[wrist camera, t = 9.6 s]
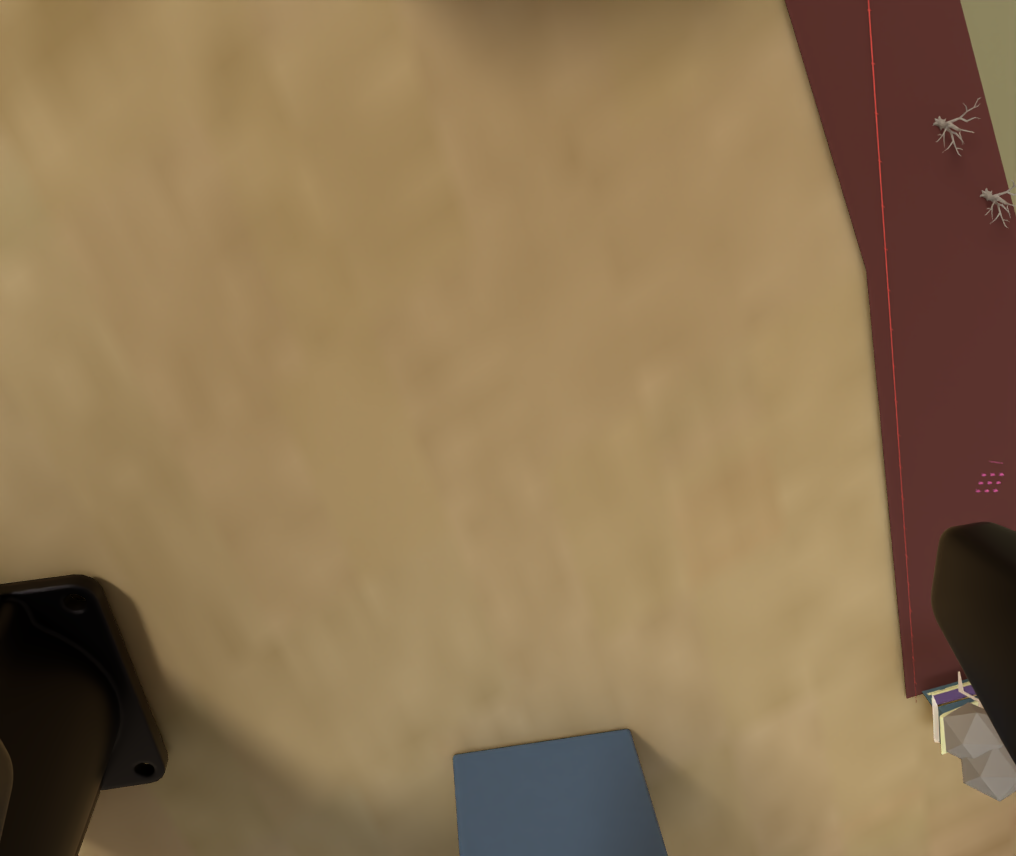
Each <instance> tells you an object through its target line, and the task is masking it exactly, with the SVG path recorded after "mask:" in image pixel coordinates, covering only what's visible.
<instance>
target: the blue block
mask: <svg viewBox="0 0 1016 856" xmlns="http://www.w3.org/2000/svg"><path fill="white" fill-rule="evenodd" d="M453 768H454V782H455V797H456V811H457V825H458V840H459V854H460V856H668V854H667V851H666V847H665V844H664V841H663V837H662V834H661V831H660V827H659V824H658V821H657V818H656V814H655V811H654V808H653V804H652V801H651V798H650V794H649V791H648V788H647V784H646V781H645V778H644V774H643V771H642V768H641V764H640V761H639V758H638V754H637V751H636V748H635V744H634V741H633V738H632V735H631V732H630V730H629V729H623V730H616V731H610V732H603V733H596V734H589V735H583V736H576V737H569V738H563V739H556V740H549V741H543V742H536V743H529V744H523V745H516V746H509V747H502V748H496V749H489V750H482V751H476V752H469V753H462V754H456V755H454V757H453Z"/></svg>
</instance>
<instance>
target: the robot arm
mask: <svg viewBox="0 0 1016 856" xmlns="http://www.w3.org/2000/svg"><path fill="white" fill-rule="evenodd" d="M70 594H76V595H79V596H81V597H83V598H84V599H85V601H81V600H76V599H74V598H72V597H71V595H70ZM931 605H932V609H933V613H934V616H935V619H936V621H937V623H938V625H939V627H940V629H941V630H942V632H943V634H944V636H945V638H946V640H947V641H948V643H949V645H950V647H951V649H952V651H953V653H954V654H955V656H956V658H957V660H958V662H959V664H960V665H961V667H962V669H963V671H964V673H965V675H966V677H967V678H968V680H969V682H970V684H971V686H972V688H973V689H974V691H975V693H976V695H977V697H978V699H979V701H980V702H981V704H982V706H983V708H984V710H985V712H986V713H987V715H988V717H989V719H990V721H991V723H992V725H993V726H994V728H995V730H996V732H997V734H998V736H999V737H1000V739H1001V741H1002V743H1003V744H1004V746H1005V748H1006V749H1007V751H1008V753H1009V755H1010V756H1011V758H1012V760H1013V762H1014V763H1015V765H1016V531H1013V530H1011V529H1008V528H1006V527H1003V526H1001V525H998V524H995V523H992V522H977V523H971V524H965V525H959V526H953V527H950V528H948V529H946V530H945V531H944V532H943V533H942V535H941V537H940V540H939V544H938V550H937V557H936V564H935V570H934V577H933V584H932V590H931ZM144 763H148V764H144ZM167 763H168V754H167V751H166V749H165V746H164V744H163V741H162V739H161V736H160V733H159V731H158V728H157V726H156V723H155V721H154V718H153V716H152V713H151V711H150V708H149V705H148V703H147V700H146V698H145V695H144V693H143V690H142V688H141V685H140V683H139V680H138V677H137V675H136V672H135V670H134V667H133V665H132V662H131V660H130V657H129V655H128V652H127V650H126V647H125V644H124V642H123V639H122V637H121V634H120V632H119V629H118V627H117V624H116V622H115V619H114V616H113V614H112V611H111V609H110V606H109V604H108V601H107V599H106V596H105V594H104V591H103V589H102V587H101V586H100V584H99V583H98V582H97V581H95V580H94V579H93V578H91V577H88V576H85V575H67V576H59V577H52V578H44V579H37V580H29V581H22V582H15V583H7V584H0V856H78V853H79V850H80V848H81V845H82V842H83V839H84V836H85V833H86V831H87V828H88V825H89V822H90V819H91V817H92V814H93V811H94V808H95V805H96V802H97V800H98V797H99V794H100V791H101V790H107V789H113V788H120V787H127V786H134V785H140V784H147V783H152V782H155V781H158V780H159V779H160V778H162V777H163V775H164V773H165V770H166V766H167Z"/></svg>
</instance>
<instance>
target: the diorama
mask: <svg viewBox="0 0 1016 856" xmlns="http://www.w3.org/2000/svg"><path fill="white" fill-rule="evenodd" d="M785 2H786V6H787V9H788V12H789V16H790V19H791V22H792V25H793V29H794V32H795V35H796V39H797V42H798V45H799V49H800V52H801V55H802V59H803V62H804V65H805V69H806V72H807V75H808V79H809V82H810V85H811V88H812V92H813V95H814V98H815V102H816V105H817V108H818V112H819V115H820V118H821V122H822V125H823V128H824V132H825V135H826V138H827V142H828V145H829V148H830V152H831V155H832V158H833V161H834V165H835V168H836V171H837V175H838V178H839V181H840V185H841V188H842V191H843V195H844V198H845V201H846V205H847V208H848V211H849V215H850V218H851V221H852V224H853V228H854V231H855V234H856V238H857V241H858V244H859V248H860V251H861V254H862V258H863V261H864V264H865V268H866V272H867V283H868V293H869V304H870V315H871V325H872V336H873V347H874V357H875V368H876V378H877V389H878V400H879V410H880V421H881V432H882V442H883V453H884V463H885V474H886V485H887V495H888V506H889V517H890V527H891V538H892V548H893V559H894V570H895V580H896V591H897V602H898V612H899V623H900V634H901V644H902V655H903V665H904V676H905V687H906V697H907V698H910V697H914V696H917V695H920V694H924V695H925V697H926V698H927V700H928V701H929V702H930V704H931V705H932V707H933V729H934V742H940V744H941V755H943V754H945V753H950V754H952V755H954V756H956V757H958V758H960V759H961V761H962V772H963V783H965V784H967V785H969V786H970V787H972V788H974V789H976V790H978V791H980V792H982V793H984V794H986V795H988V796H990V797H992V798H994V799H996V800H998V801H1001V800H1003V799H1005V798H1006V797H1008V796H1009V795H1011V794H1012V793H1014V792H1015V791H1016V765H1015V763H1014V762H1013V760H1012V758H1011V756H1010V755H1009V753H1008V751H1007V749H1006V748H1005V746H1004V744H1003V743H1002V741H1001V739H1000V737H999V736H998V734H997V732H996V730H995V728H994V726H993V725H992V723H991V721H990V719H989V717H988V715H987V713H986V712H985V710H984V709H983V706H982V704H981V702H980V701H979V699H978V697H977V696H975V697H974V696H972V695H975V694H976V693H975V691H974V689H973V688H972V686H971V684H970V682H969V680H968V678H967V677H966V675H965V673H964V671H963V669H962V667H961V665H960V664H959V662H958V660H957V658H956V656H955V654H954V653H953V651H952V649H951V647H950V645H949V643H948V641H947V640H946V638H945V636H944V634H943V632H942V630H941V629H940V627H939V625H938V623H937V621H936V619H935V616H934V613H933V609H932V605H931V590H932V584H933V577H934V570H935V564H936V557H937V550H938V544H939V540H940V537H941V535H942V533H943V532H944V531H945V530H946V529H948V528H950V527H953V526H959V525H965V524H971V523H977V522H992V523H995V524H998V525H1001V526H1003V527H1006V528H1008V529H1011V530H1013V531H1016V0H785ZM964 697H970V698H968V699H964V700H961V701H957V702H954V703H950V704H947V705H943V706H940V707H938V706H937V705H940V704H943V703H947V702H950V701H954V700H957V699H961V698H964ZM916 703H917V701H916Z"/></svg>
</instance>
